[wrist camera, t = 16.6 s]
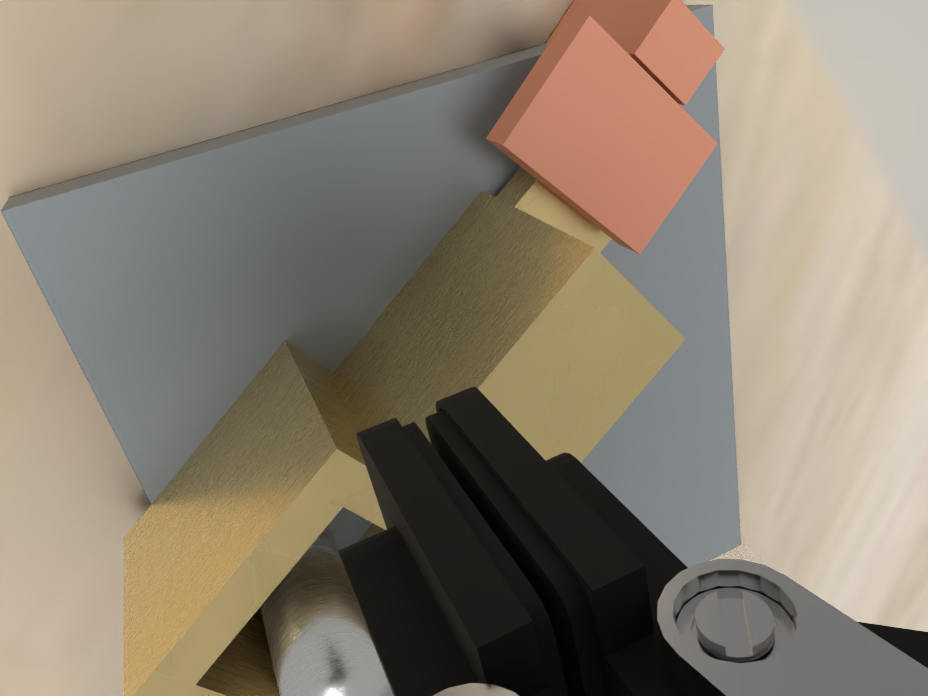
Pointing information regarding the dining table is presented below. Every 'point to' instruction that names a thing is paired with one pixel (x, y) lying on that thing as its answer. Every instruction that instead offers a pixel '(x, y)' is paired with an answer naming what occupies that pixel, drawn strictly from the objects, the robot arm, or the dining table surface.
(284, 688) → the cylinder
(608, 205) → the pink t-shaped block
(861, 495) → the dining table surface
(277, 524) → the link
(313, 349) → the base plate
